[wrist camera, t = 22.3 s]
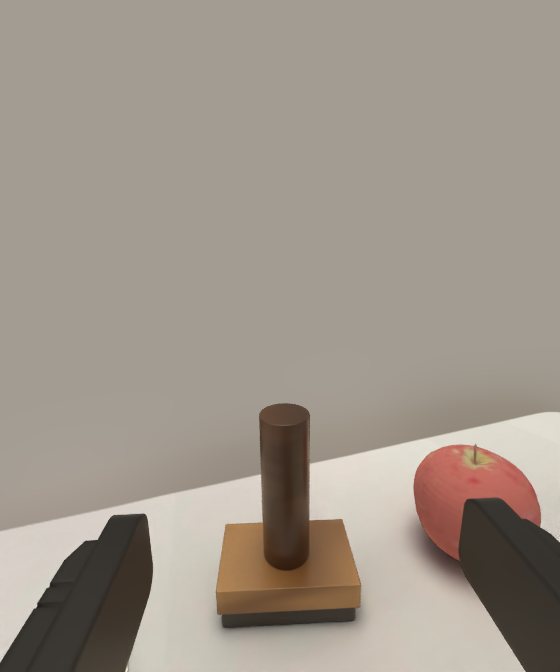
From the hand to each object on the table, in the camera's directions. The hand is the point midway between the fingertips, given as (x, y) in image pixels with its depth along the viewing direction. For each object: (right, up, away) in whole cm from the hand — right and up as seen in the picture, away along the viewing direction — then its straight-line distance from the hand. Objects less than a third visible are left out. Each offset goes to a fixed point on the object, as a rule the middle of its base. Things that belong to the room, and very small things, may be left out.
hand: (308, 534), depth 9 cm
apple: (+13, -10, +17) cm, 23 cm away
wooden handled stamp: (0, -11, +14) cm, 18 cm away
